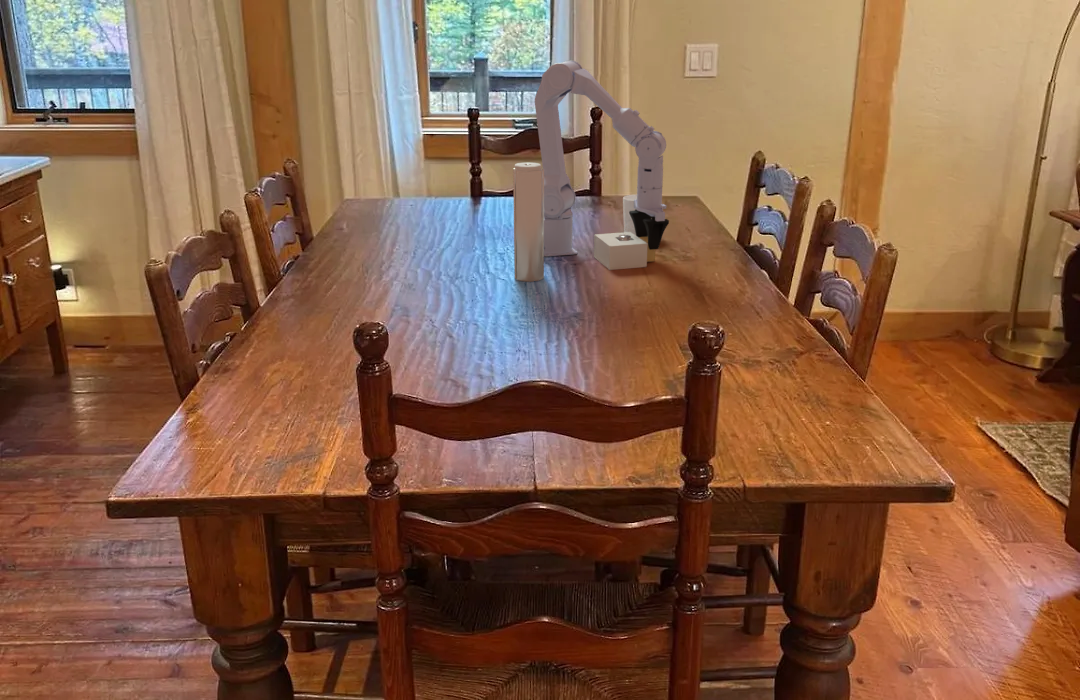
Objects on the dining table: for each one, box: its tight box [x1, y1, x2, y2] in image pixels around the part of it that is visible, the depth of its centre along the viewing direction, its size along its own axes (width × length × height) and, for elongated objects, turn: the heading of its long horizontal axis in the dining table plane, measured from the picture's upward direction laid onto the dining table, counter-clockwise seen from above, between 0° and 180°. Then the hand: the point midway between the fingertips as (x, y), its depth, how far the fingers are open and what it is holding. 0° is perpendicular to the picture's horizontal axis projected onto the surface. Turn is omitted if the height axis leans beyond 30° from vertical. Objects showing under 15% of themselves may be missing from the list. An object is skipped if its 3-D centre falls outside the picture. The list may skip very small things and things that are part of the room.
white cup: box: [622, 194, 652, 237], centre depth 239 cm, size 8×8×10 cm
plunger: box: [619, 235, 631, 241], centre depth 217 cm, size 3×3×2 cm
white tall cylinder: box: [512, 161, 545, 283], centre depth 202 cm, size 6×6×25 cm
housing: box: [593, 231, 648, 271], centre depth 217 cm, size 9×11×6 cm
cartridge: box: [639, 237, 657, 263], centre depth 218 cm, size 10×4×5 cm, turn 105°
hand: (647, 244), depth 219 cm, fingers open, 7 cm apart
